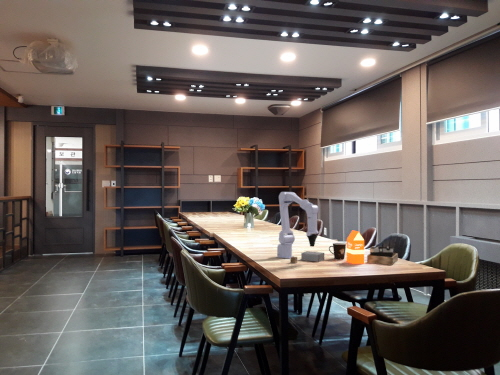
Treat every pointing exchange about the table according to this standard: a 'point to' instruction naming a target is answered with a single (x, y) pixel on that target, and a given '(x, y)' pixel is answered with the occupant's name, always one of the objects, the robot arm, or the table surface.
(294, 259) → the walnut block
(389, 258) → the frame
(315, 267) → the table surface
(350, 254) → the orange juice
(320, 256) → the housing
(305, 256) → the grey drawer
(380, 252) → the camera
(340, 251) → the coffee mug
